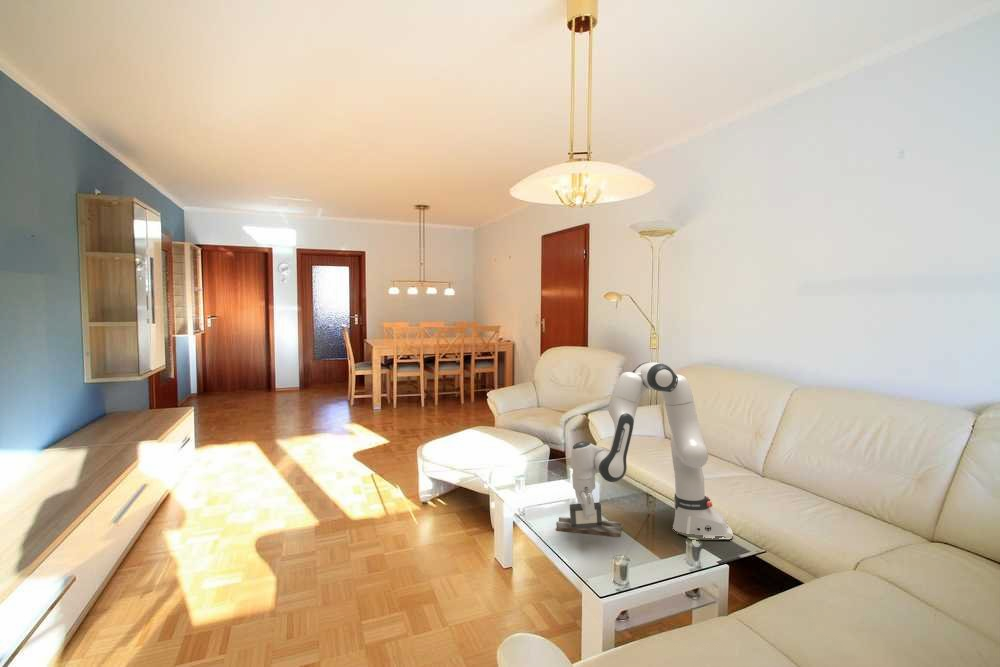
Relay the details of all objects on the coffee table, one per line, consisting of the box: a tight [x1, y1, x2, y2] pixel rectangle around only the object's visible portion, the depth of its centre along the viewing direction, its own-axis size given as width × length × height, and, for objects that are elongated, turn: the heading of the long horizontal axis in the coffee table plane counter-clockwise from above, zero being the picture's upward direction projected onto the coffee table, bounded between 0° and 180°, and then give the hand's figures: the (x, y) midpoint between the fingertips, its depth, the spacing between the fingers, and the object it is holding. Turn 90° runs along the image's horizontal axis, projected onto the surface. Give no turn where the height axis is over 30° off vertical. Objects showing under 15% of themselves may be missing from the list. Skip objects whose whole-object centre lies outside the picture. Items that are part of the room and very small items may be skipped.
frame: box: [569, 501, 603, 529], centre depth 192 cm, size 12×2×9 cm, turn 91°
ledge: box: [555, 516, 623, 538], centre depth 201 cm, size 26×8×3 cm, turn 71°
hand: (585, 517), depth 192 cm, fingers closed on frame, 2 cm apart
